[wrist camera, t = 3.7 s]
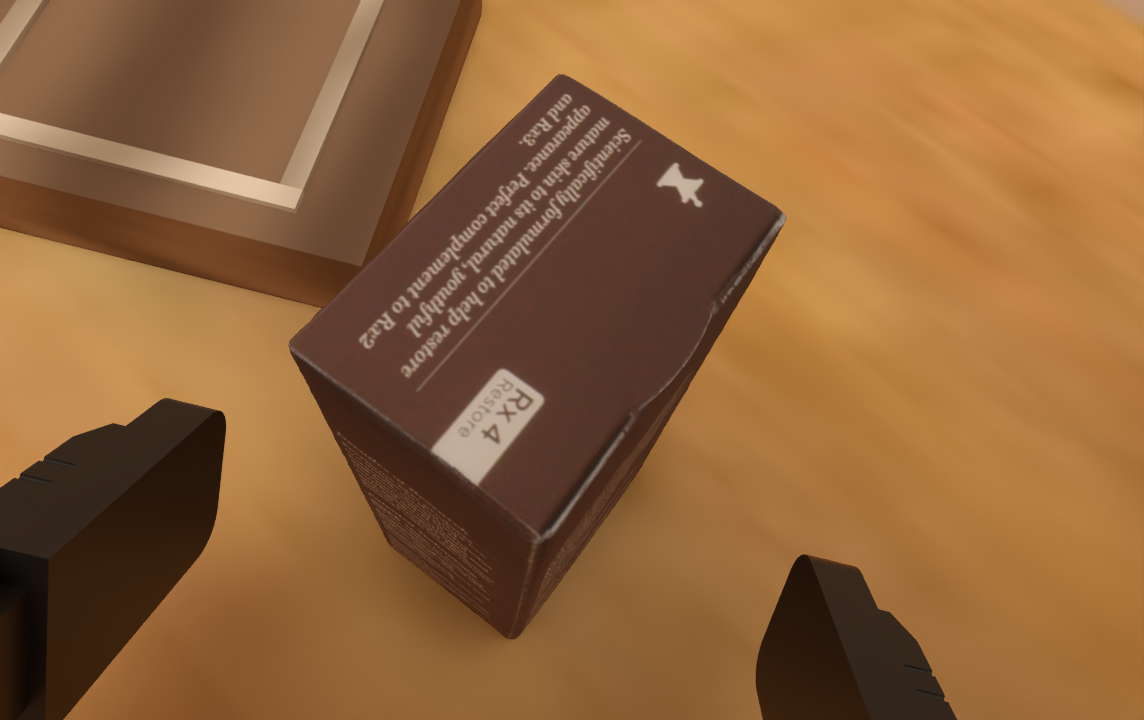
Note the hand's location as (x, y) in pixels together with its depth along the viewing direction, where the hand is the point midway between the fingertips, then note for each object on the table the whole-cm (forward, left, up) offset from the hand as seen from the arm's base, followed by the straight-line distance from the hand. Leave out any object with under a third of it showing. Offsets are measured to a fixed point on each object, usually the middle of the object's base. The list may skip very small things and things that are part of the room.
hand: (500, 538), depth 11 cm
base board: (+11, -13, -10) cm, 20 cm away
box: (0, -3, -10) cm, 11 cm away
